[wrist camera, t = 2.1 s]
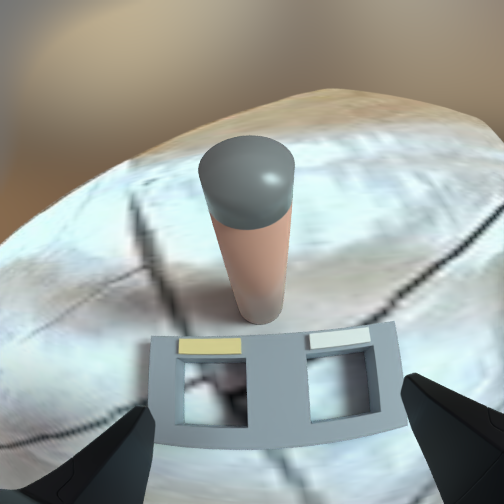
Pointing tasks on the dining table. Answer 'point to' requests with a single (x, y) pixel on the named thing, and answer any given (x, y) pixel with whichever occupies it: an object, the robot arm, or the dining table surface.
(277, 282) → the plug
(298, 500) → the dining table surface
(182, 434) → the socket plate
